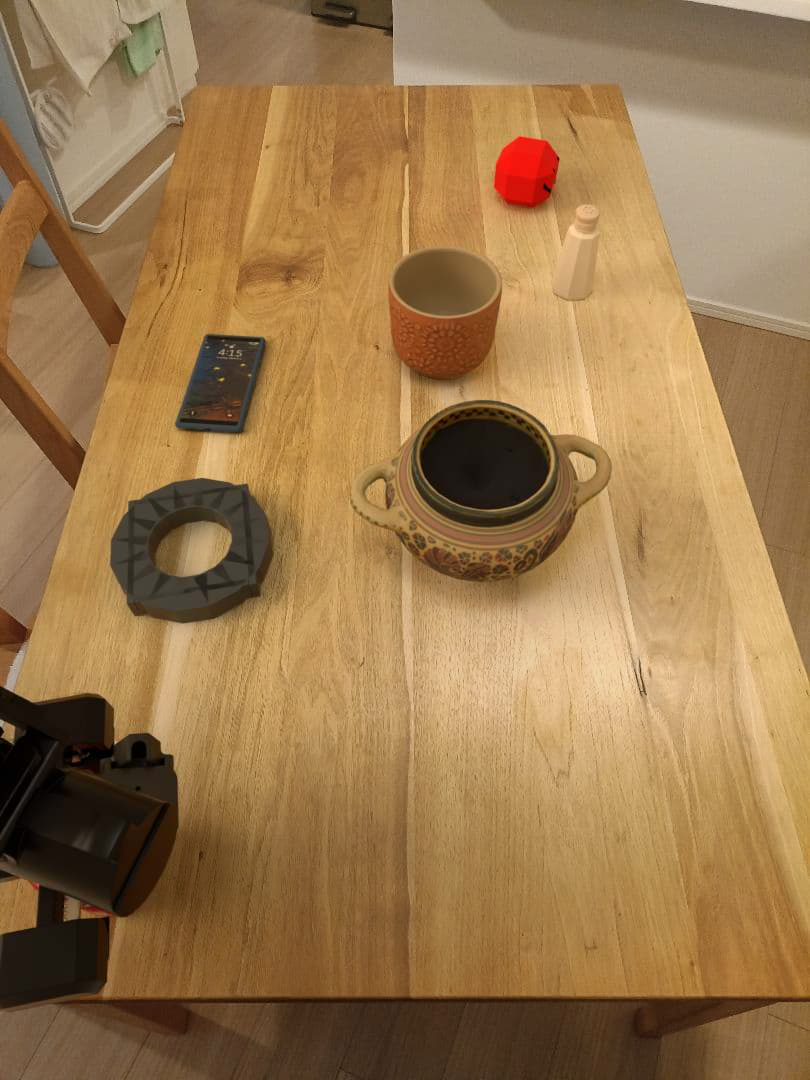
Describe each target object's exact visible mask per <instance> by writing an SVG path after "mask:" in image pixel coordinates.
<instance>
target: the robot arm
mask: <svg viewBox="0 0 810 1080" xmlns="http://www.w3.org/2000/svg"><path fill="white" fill-rule="evenodd" d="M0 721H3V722H4V723H7V724H8V725H11V726H13V727H14V735H13V743H12V742H11V741H9V740H8V739H6V738H4V737H3V735H4V733H5V732H6V731H5V730H4V728H3V727H2V726H1V725H0V884H3V883H6V882H7V883H8V882H12V881H17V880H24V881H27V882H29V881H30V882H34V883H37V884H39V891H37V892H38V894H37V895H38V896H37V907H36V922H35V927H29V928H24V929H20V930H14V931H10V932H9V931H8V932H5V933H1V934H0V1012H1V1013H15V1012H20V1011H24V1010H29V1009H34V1008H38V1007H43V1006H48V1005H49V1006H50V1005H53V1004H58V1003H63V1002H67V1001H72V1000H77V999H82V998H87V997H92V996H96V995H99V993H100V992H101V991H102V989H103V988H104V987H105V985H106V984H107V983H108V967H109V966H108V964H109V963H108V962H109V958H110V930H111V929H110V927H111V926H110V924H111V917H110V916H108V917H103V916H102V917H85V918H81V913H82V910H81V902H84V903H86V904H89V905H91V906H94V907H96V908H99V909H101V910H104V911H106V912H109V913H111V914H114V915H116V916H117V917H118V918H128V917H129V916H130V915H133V914H134V913H135V912H137V911H138V910H139V909H140V908H141V907H142V906H143V904H144V903H145V902H146V901H147V900H148V898H149V897H150V895H151V894H152V892H153V891H154V889H155V888H156V886H157V885H158V882H159V881H160V879H161V877H162V875H163V873H164V872H165V870H166V867H167V866H168V865H167V864H168V862H169V860H170V858H171V855H172V853H173V849H174V846H175V843H176V839H177V835H178V830H179V824H180V822H179V821H180V819H179V818H180V816H179V779H178V775H177V772H176V771H175V761H174V759H175V757H174V754H170V753H164V752H163V751H162V742H161V741H160V740H159V739H158V738H157V737H155V736H154V735H152V734H151V733H150V732H138V733H137V732H136V733H129V734H127V735H126V736H124V737H123V738H122V739H120V740H119V741H117V742H116V743H115V732H116V731H115V730H116V729H115V707H114V706H113V705H111V703H110V702H109V701H108V700H107V699H106V698H105V697H104V696H102V695H101V694H99V693H91V692H85V693H79V694H73V695H67V696H62V697H57V698H50V699H45V700H40V701H34V702H33V701H31V700H29V699H27V698H24V697H23V696H21V695H19V694H17V693H15V692H13V691H11V690H10V689H7V688H5V687H3V686H1V685H0ZM65 898H67V899H68V900H66V901H65Z"/></svg>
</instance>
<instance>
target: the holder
mask: <svg viewBox="0 0 810 1080" xmlns="http://www.w3.org/2000/svg"><path fill="white" fill-rule="evenodd" d="M249 487H250V486H249V484H248V483H241V484H234V483H232V482H229V481H225V480H224V481H223V480H218V479H211V478H205V477H197V478H191V479H184V480H179V481H178V480H177V481H172V482H170V483H168V484H166V485H163V486H162V487H159V488H157V489H155V490H152V491H151V492H148V493H146V494H145V495H143V496H142V498H140V499H133V500H128V501H127V511H126V512H125V513H124V514H123V515H122V517H121V518H120V521H119V523H118V525H117V526H116V529H115V531H114V533H113V535H112V536H111V539H110V558H109V559H110V560H109V566H110V569H111V571H112V572H113V574H114V575H113V576H115V578H116V581H117V583H118V585H119V586H120V588H121V590H122V591H123V593H124V595H125V597H126V605H127V607H128V608H129V610H130V611H131V613H132V615H133V616H134V617H139V616H144V615H148V616H150V617H151V618H153V619H159V620H163V621H164V620H165V621H169V622H174V623H179V624H187V623H194V622H201V621H206V620H212V619H216V618H217V617H219V616H222V615H223V614H226V613H227V612H229V611H231V610H233V609H235V608H237V607H238V606H240V605H243V604H244V603H245V602H246V601H247V600H248V599H250V598H257V597H261V596H262V595H261V584H262V583H263V582H264V580H265V579H266V576H267V573H268V570H269V567H270V566H271V565H270V564H271V562H272V559H273V557H274V550H273V540H272V533H271V532H272V531H271V530H272V529H271V526H270V523H269V519H268V516H267V514H266V513H265V512H264V510H263V509H262V507H261V506H260V504H259V503H258V501H257V499H256V498H255V497H254V496H253V495H252V494H251V491H250V488H249ZM200 521H204V522H210V523H215V524H218V525H219V526H221V527H223V528H224V529H226V530H228V531H229V533H230V535H231V543H230V545H229V547H228V550H227V553H226V555H224V557H223V558H222V559H221V560H220V561H219V562H218V563H217V564H216V565H215V566H213V567H211V568H210V569H208V570H205V571H204V572H201V573H199V574H193V575H186V576H179V575H174V574H168V573H167V572H166V571H165V572H164V571H163V570H161V569H160V568H159V567H158V566H156V553H157V551H158V549H159V546H160V544H161V542H162V541H163V539H164V538H165V537H167V535H169V534H170V533H171V532H172V531H173V530H175V529H177V528H179V527H182V526H183V525H185V524H187V523H193V522H200Z"/></svg>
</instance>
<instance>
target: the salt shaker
mask: <svg viewBox="0 0 810 1080" xmlns="http://www.w3.org/2000/svg"><path fill="white" fill-rule="evenodd" d="M600 216H601V211H600V209H599V208H598V207H597V206H595V205H593V204H582V205H579V206H578V207H577V208H576V210H575V217H574V222H573V223H571V225H569V226H568V228H567V232H566V234H565V237H564V241H563V244H562V247H561V250H560V253H559V256H558V259H557V263H556V266H555V269H554V272H553V275H552V279H551V283H550V284H551V287H552V292H553V294H554V295H556V296H558V297H559V298H562V299H564V300H565V301H566V302H567V301H568V302H569V301H583V300H585V299H586V298H587V297H589V295H591V294H592V293H593V292H594V284H595V275H596V266H597V259H598V251H599V242H600V230H599V227H598V223H599V218H600Z"/></svg>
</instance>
